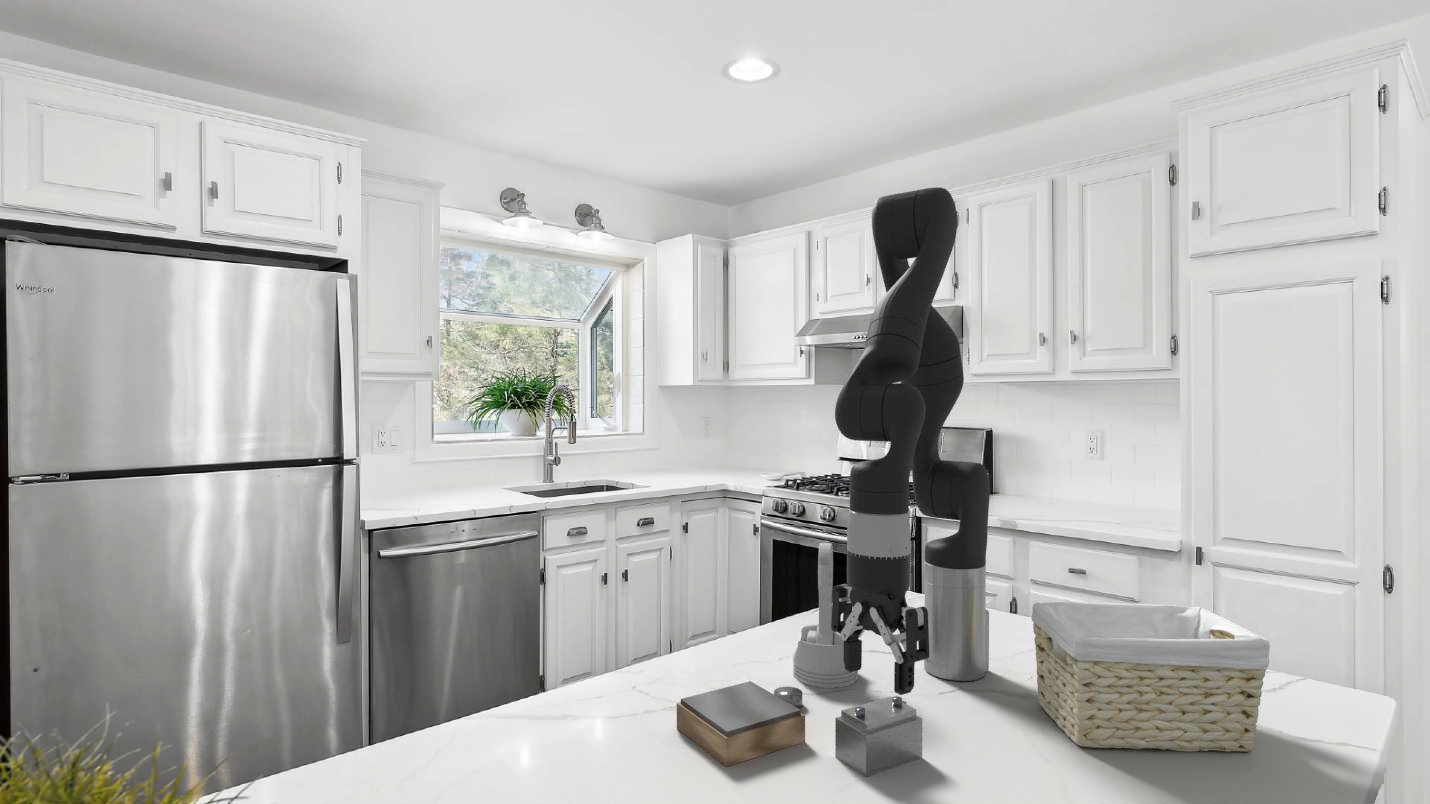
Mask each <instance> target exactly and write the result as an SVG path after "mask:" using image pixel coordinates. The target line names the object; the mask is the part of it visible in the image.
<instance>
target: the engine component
mask: <svg viewBox="0 0 1430 804" xmlns="http://www.w3.org/2000/svg"><path fill="white" fill-rule="evenodd" d="M833 550H834V548H833V543H831V542H820V543H819V547H818V556H817V557H818V558H817V559H818V560H817V561H818V562H817V563H818V564H817V590H818V624H810V625H809V624H808V625H804V626H803V627H802V628H801V635H800V640H799V641H798V643H797V647H796V649H795V650H794V651H793V653H792V654H793V655H792V665H793V666H792V667H793V668H792V670H793V671H792V675H794V676H793V678H794V679H795V678H796V679H797V680H796V679H795V680H796V681H798V680H799V681H801V682H802V684H804V683H805V684H804V685H806V684H808V685H807V686H810V687H815V686H817V687H816V688H822V687H826V688H825V689H834V688H833V687H838V688H843V687H842V686H844V687H848V686H851V685H853V684H854V683H856V682H857V681H858V679H859V670H858V671H854V672H849V671H847V670H845V664H844V640H842V638H841V634H839V633H838V632H834V631H833V630H832V628H831V621H832V602H833V587H834V586H833V583H834V582H833V581H834V580H833V579H834V551H833ZM856 680H857V681H856ZM799 681H798V682H799ZM855 681H856V682H855ZM801 682H800V683H801ZM852 683H853V684H852ZM850 684H851V685H850ZM828 687H830V688H828Z"/></svg>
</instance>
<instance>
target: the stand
mask: <svg viewBox="0 0 1430 804" xmlns="http://www.w3.org/2000/svg"><path fill="white" fill-rule="evenodd" d="M676 729H677V730H678V731H679V732H681V733H682V734H683V735H684V736H686V737H687V738H688V739H690V741H692V742H694V743H695V744H696V745H697V746H698V747H699V748H701V749H702V750H703V751H705V752H706V753H707V754H709V756H711V757H713V758H714V759H715V760H717V761H718V762H719V763H720V764H722V765H723V766H724V767H726V768H727V767H730V766H734V765H737V764H740V763H743V762H746V761H748V760H752V759H755V758H756V759H757V758H759V757H761V756H765V755H768V754H771V753H773V752H776V751H777V752H778V751H780V750H784V749H787V748H790V747H792V746H795V745H799V744H802V743H805V742H806V714H804V713H802V710H801V709H798V708H796V707H795V706H793V705H791V704H789V703H788V702H786V701H784V700H782V699H781V698H779V697H777V696H775V695H774V693H772V692H770V691H768V690H767V689H765V688H763V687H762V686H760V685H758V684H757V683H755V682H752V681H750V680H749V681H746V682H742V683H739V684H735V685H728V686H726V687H722V688H718V689H714V690H711V691H710V690H709V691H707V692H703V693H698V694H695V695H691V696H686V697H683V698H680V701H679V702H677V703H676Z"/></svg>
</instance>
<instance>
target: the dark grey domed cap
mask: <svg viewBox="0 0 1430 804" xmlns="http://www.w3.org/2000/svg"><path fill="white" fill-rule="evenodd" d="M773 694H774V695H775V696H777V697H779V698H781V699H782V700H784V701H786V702H788V703H789V704H791V705H793V706H795V707H796V708H798V709H800V710H801V709H803V691H802V689H799V688H798V687H795V686H779V687H776V688H775V689H774V691H773Z"/></svg>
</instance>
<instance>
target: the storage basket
mask: <svg viewBox="0 0 1430 804" xmlns="http://www.w3.org/2000/svg"><path fill="white" fill-rule="evenodd" d="M1031 608H1032V611H1031V612H1032V613H1031V621H1032V622H1033V624H1032V626H1033V629H1032V630H1033V633H1034V635H1035V636H1034V645H1035V660H1036V676H1037V677H1036V683H1037V689H1036V690H1037V698H1038V700H1037V701H1038V703H1039V705H1040V706H1041V708H1043V710H1044V711H1045V712H1046V714H1048V715H1049V716H1050V718H1051V720H1052V721H1055V723H1056V725H1057V727H1059V729H1061V730H1062V731H1063V732H1064V733H1065V735H1066V736H1067V737H1069V738H1070V739H1071V740H1072V741H1073V742H1074V743H1075V744H1076V745H1077V746H1080V747H1083V748H1085V747H1086V748H1094V749H1107V748H1108V749H1109V748H1110V749H1112V748H1114V749H1122V748H1123V749H1133V750H1142V749H1159V750H1162V751H1163V750H1164V751H1165V750H1170V751H1178V752H1188V753H1189V752H1191V753H1192V752H1199V751H1202V752H1208V751H1220V752H1252V751H1253V750H1254V746H1255V745H1254V742H1255V741H1254V740H1255V736H1256V733H1255V731H1256V728H1257V723H1258V719H1259V711H1260V710H1259V706H1260V705H1261V697H1262V694H1263V693H1262V688H1263V686H1264V680H1263V679H1264V678H1265V676H1266V673H1267V670H1268V667H1269V664H1270V657H1269V656H1270V648H1271V644H1270V641H1269V640H1268V639H1267V638H1265V637H1263V636H1260V635H1258V634H1257V633H1255V632H1254V631H1251V630H1249V629H1247V628H1245V627H1244V626H1241V625H1239V624H1238V623H1235V622H1233V621H1231V620H1228V619H1227V618H1225V617H1222V616H1220V615H1218V614H1216V613H1214V612H1212V611H1210V610H1208V609H1205V608H1204V607H1201V606H1195V607H1194V606H1186V605H1174V604H1161V603H1160V604H1159V603H1158V604H1156V603H1152V604H1150V603H1113V602H1112V603H1110V602H1108V603H1107V602H1106V603H1105V602H1083V601H1082V602H1080V601H1061V602H1060V601H1057V602H1042V603H1041V602H1035V603H1033V605H1032V607H1031ZM1211 635H1212V636H1213V637H1214V638H1211Z"/></svg>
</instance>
